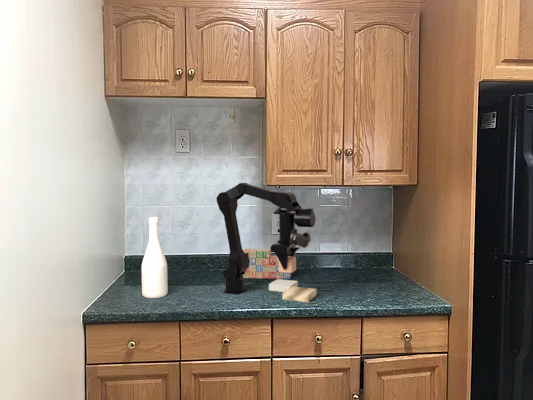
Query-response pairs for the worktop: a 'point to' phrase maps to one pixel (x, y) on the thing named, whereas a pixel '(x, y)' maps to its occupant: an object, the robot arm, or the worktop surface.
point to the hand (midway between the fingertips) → (287, 268)
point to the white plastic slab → (282, 285)
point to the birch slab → (299, 294)
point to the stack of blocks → (263, 265)
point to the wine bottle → (154, 265)
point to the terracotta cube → (289, 265)
